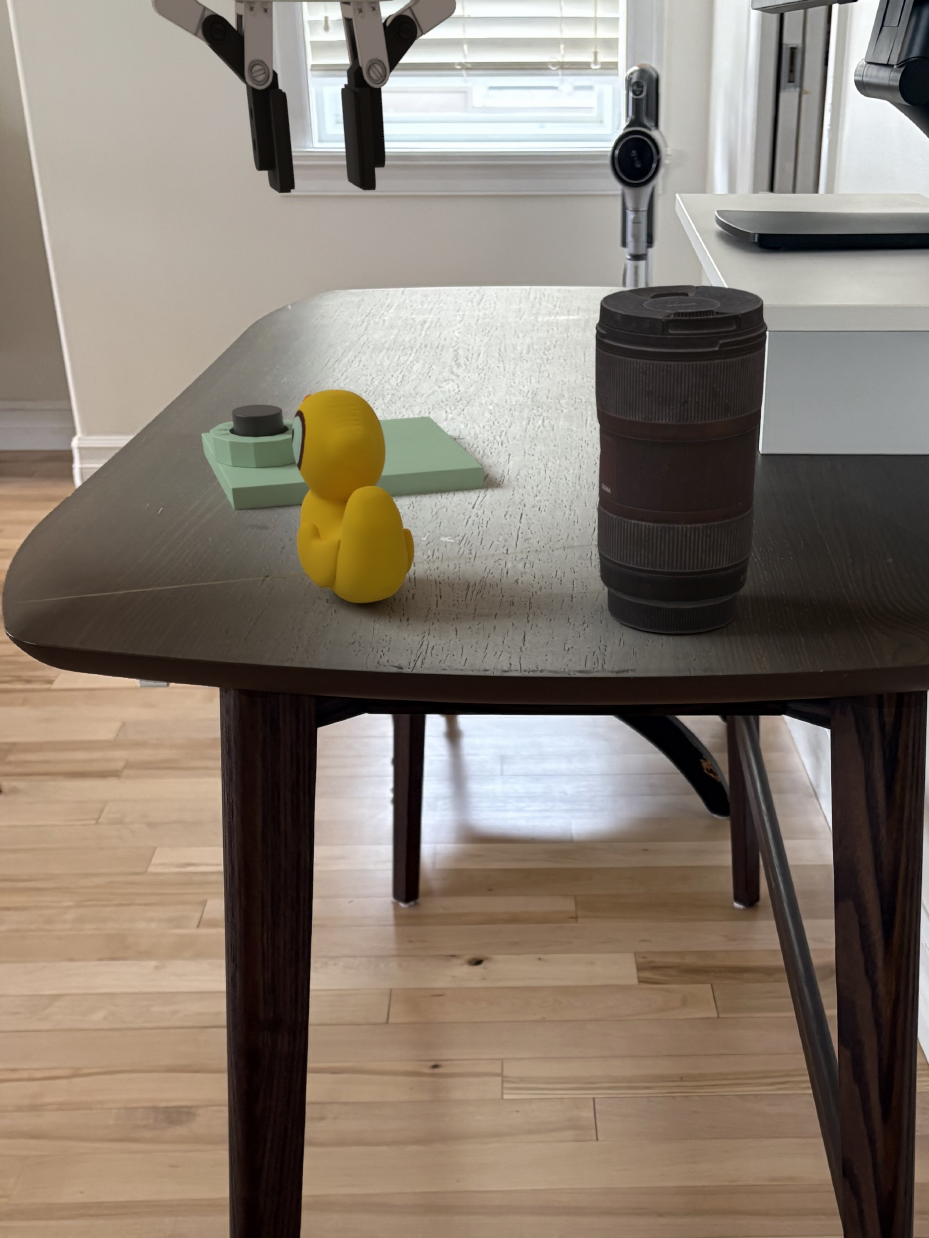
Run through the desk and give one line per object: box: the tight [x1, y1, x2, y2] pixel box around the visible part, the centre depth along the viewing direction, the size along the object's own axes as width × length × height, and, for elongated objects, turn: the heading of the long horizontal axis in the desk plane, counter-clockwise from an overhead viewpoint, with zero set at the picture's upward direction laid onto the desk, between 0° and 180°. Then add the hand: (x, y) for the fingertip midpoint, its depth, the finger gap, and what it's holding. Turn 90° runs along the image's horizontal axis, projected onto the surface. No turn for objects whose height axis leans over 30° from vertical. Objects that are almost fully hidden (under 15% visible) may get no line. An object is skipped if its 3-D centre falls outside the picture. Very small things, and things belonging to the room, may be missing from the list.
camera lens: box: [594, 284, 769, 634], centre depth 75 cm, size 8×8×15 cm
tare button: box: [231, 404, 285, 437], centre depth 97 cm, size 3×3×2 cm
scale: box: [201, 415, 485, 511], centre depth 100 cm, size 16×14×3 cm
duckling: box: [292, 389, 415, 604], centre depth 78 cm, size 11×5×10 cm, turn 25°
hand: (321, 184), depth 70 cm, fingers open, 3 cm apart
